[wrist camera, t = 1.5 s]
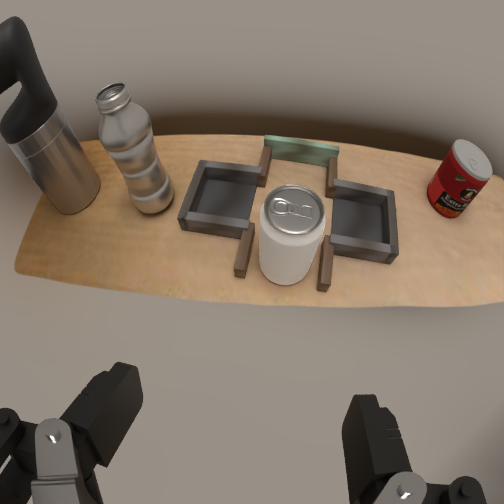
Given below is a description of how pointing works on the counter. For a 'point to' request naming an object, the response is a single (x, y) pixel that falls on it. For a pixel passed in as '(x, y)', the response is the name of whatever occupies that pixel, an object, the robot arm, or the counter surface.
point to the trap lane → (249, 177)
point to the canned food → (459, 178)
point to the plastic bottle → (133, 148)
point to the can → (289, 233)
